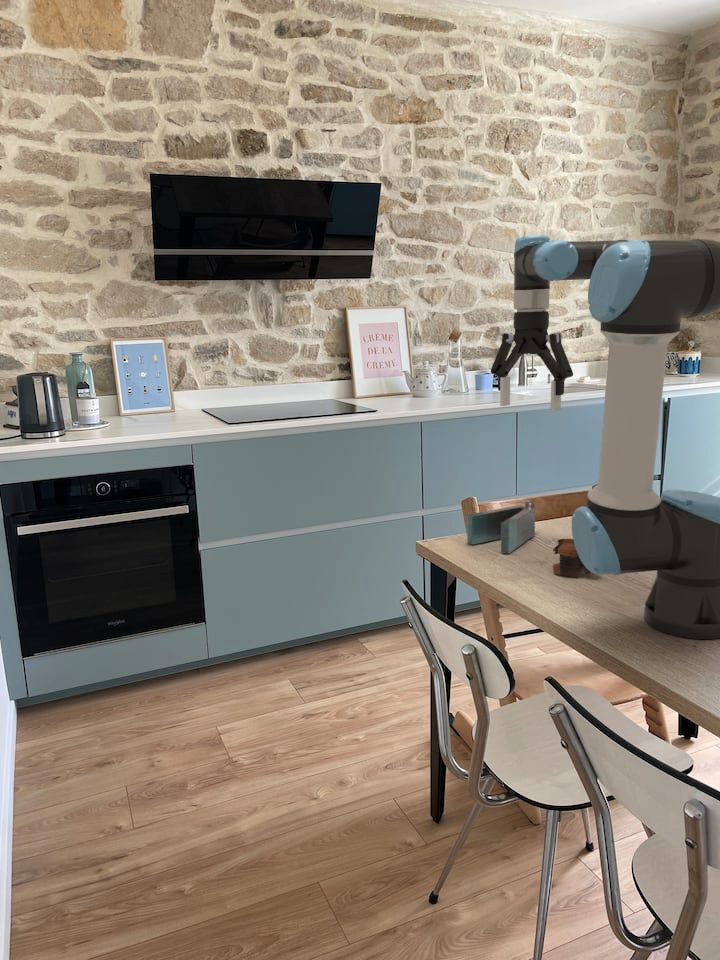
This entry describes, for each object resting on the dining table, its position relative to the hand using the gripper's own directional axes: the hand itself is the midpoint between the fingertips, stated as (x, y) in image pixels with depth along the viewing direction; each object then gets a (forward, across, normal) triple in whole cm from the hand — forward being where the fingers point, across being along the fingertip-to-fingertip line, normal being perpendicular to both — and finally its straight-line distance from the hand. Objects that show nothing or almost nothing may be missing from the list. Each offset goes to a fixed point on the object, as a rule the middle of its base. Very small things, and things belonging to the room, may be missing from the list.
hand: (529, 407), depth 166 cm
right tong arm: (+33, +4, -2) cm, 33 cm away
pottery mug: (+34, -17, +5) cm, 38 cm away
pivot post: (+34, +7, -11) cm, 36 cm away
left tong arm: (+33, +10, -2) cm, 35 cm away
